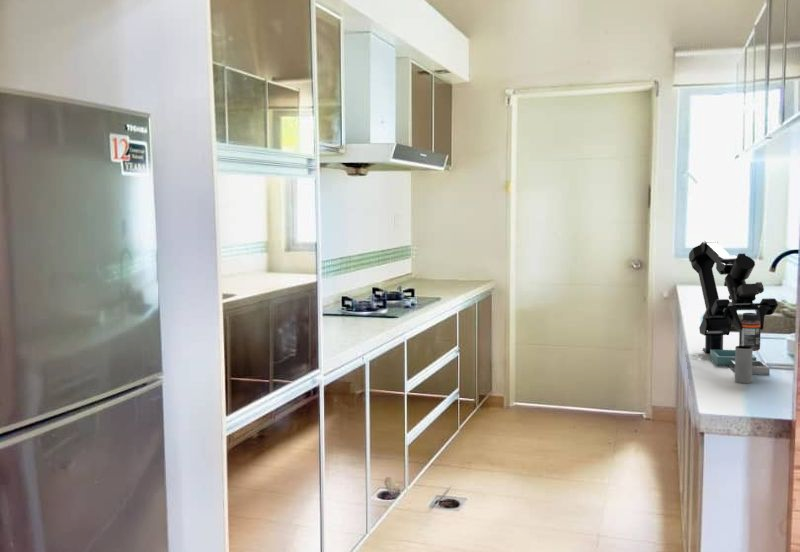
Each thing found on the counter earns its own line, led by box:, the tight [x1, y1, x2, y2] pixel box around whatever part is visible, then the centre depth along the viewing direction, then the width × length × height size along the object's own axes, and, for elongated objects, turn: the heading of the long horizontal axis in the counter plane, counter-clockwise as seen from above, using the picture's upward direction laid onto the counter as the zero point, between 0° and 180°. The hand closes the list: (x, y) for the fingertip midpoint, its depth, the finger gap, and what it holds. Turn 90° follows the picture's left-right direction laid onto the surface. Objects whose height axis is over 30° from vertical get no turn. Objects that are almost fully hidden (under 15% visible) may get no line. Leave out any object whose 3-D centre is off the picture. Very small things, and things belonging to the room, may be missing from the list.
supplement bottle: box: [738, 312, 762, 352], centre depth 230 cm, size 6×6×11 cm
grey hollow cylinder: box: [734, 345, 753, 384], centre depth 218 cm, size 4×4×10 cm
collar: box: [729, 360, 771, 375], centre depth 231 cm, size 9×9×2 cm
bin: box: [709, 349, 757, 367], centre depth 243 cm, size 12×12×3 cm
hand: (751, 329), depth 229 cm, fingers closed on supplement bottle, 6 cm apart
